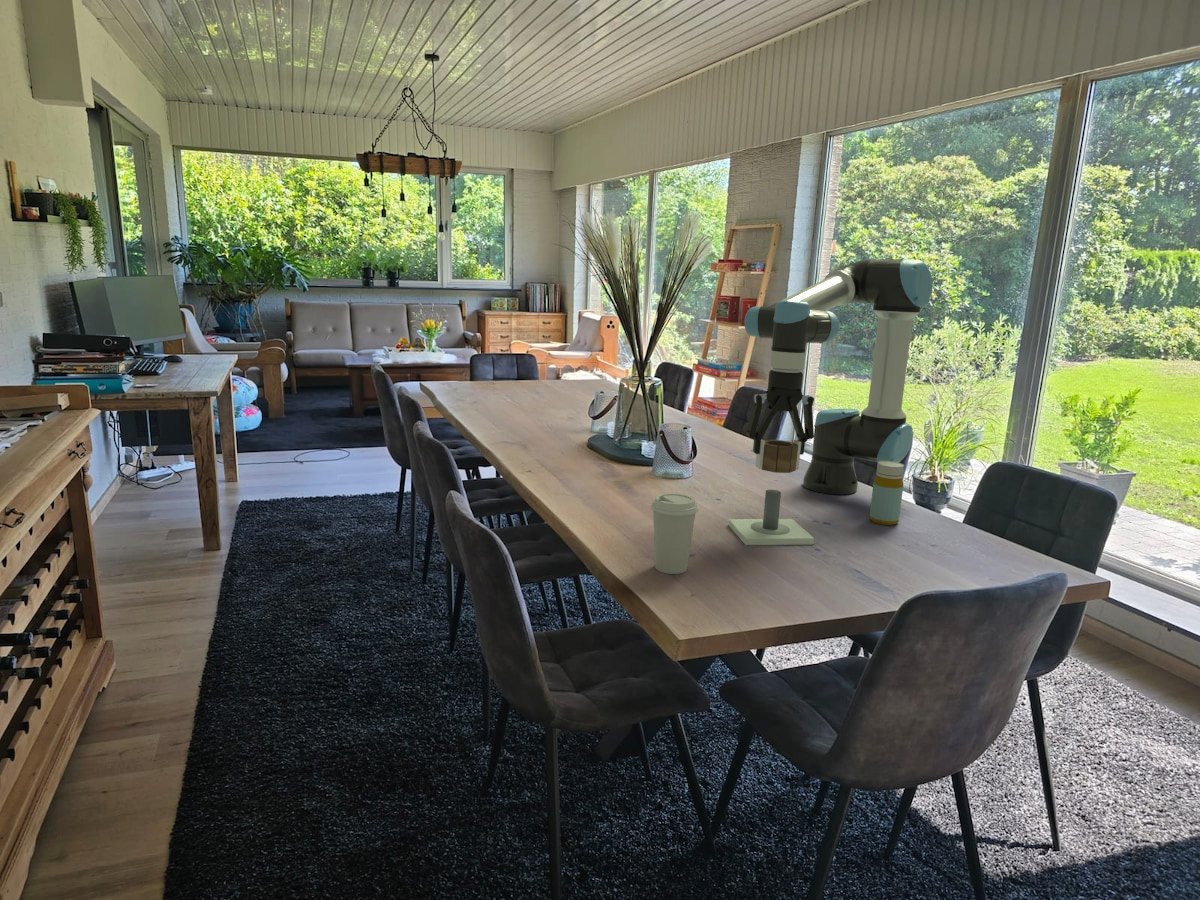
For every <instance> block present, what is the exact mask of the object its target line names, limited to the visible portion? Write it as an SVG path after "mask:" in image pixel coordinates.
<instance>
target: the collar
mask: <svg viewBox="0 0 1200 900" xmlns="http://www.w3.org/2000/svg"><path fill="white" fill-rule="evenodd" d="M763 440H764V439H763ZM764 441H765V444H764V455H763V465H762V469H761V470H762V471H765V472H771V473H779V474H790V473H793V472H796V470H797V469H796V462H797V452H798V445H797V444H795V443H794V441H789V440H788V441H787V440H782V439H765V440H764Z"/></svg>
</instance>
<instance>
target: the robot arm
mask: <svg viewBox="0 0 1200 900" xmlns="http://www.w3.org/2000/svg"><path fill="white" fill-rule="evenodd" d="M932 294H933V278H932V274H931V271H930V269H929V267H928V265H927V264H926V263H925V262H924V261H921V260H919V259H918V260H917V259H909V258H903V259H900V258H897V259H893V258H890V259H889V258H887V259H883V258H881V259H877V258H869V259H862V260H858V261H855V262H852V263H849V264H846V265H844V266H842V267H838V268H837V269H835V270H833V271H830V272H829V273H828V274H827V275H826V276H825V278H824V279H823V280H821V281H819V282H817V283H815V284H813V285H811V286H809V287H806V288H804V289H802V290H800V291H798V292H795V293H794V294H792V295H790V296H788V297H785V298H783V299H781V300H779V301H777V302H775V303H773V304H771V305H768V306H763V305H759V306H757V305H756V306H752V307H750V308H749V309H748V310H747V312H746V313H745V316H744V322H743V324H744V329H745V331H746V333H747V334H748V336H751V337H754V338H759V339H771V344H772V345H771V351H770V358H769V359H770V360H769V367H770V368H771V369H770V370H769V371H768V381H767V382H768V383H767V390H766V391H765V393H762V394H759V393H754V394H753V396H752V397H753V405H752V411H751V414H750V417H749V421H748V424H747V430H746V435H747V436H748V437H750V438H751V439H753V445H752V447H753V448H752V453H754V454H755V455H756V457H755V464H754V465H755V467H756V468H757V469H759V470H762V465H763V455H764V444H765V441H764V439H763V438H764V436H765V434H766V432H767V430H768V428H769V426H770V424H771V422H772V420H773V419H774V416H776V415H777V412H784V411H785V412H788V414H789V416H790V419H791V422H792V426H793V428H794V431H795V434H796V437H797V439H793V442H794V443H795V444H797V445H798V452H797V462H796V470H799V467H800V458H801V455H802V456H803V455H804V453H805V447H806V442H807V441H809V440H812V439H813V444H812V454H811V461H810V463H809V465H808V467H807V469H806V472H805V474H804V475H803V480H802V482H803V483H802V485H803V487H804V488H806V489H807V490H810V491H812V492H813V491H814V492H817V493H821V494H827V495H828V494H830V495H848V494H849V495H850V494H853V493H854V494H855V493H856V492H857V491H858V486H859V485H858V478H857V475H856V470H855V466H854V461H855V458H857V459H861V460H866V461H868V462H869V461H870V462H875V463H877V464H878V462H880V461H892V462H898V463H901V461H902V460H903V459H904V458H905V457H906V456H907V454H908V452H909V450H910V449H911V445H912V444H913V443H912V442H913V439H914V429H913V426H912V425H910V424H909V423H907V414H906V413H905V412H904V410H903V409H902V406H903V399H904V391H905V385H906V384H905V383H906V375H907V367H908V361H909V360H908V358H909V352H910V351H909V350H910V343H911V335H912V328H913V321H914V319H915V318H916V317H917V316H918V315H919V314H920V312H921V308H922V307H925V306H927V304H929V302H930V298H931V297H932ZM852 303H861V304H873V309H872V311H873V313H874V314H875V315H876V316H877V326H876V327H877V328H876V334H875V341H874V342H875V344H874V352H873V360H872V367H871V369H872V370H871V376H870V378H871V379H870V384H869V385H870V386H869V393H868V403H867V406H866V407H865V408H864V409H863V410H861V412H860V410H859V409H857V408H856V409H855V408H830V409H822V410H820V411H818V412H817V414H816V416H815V422H814V417H813V405H814V401H815V398H814V397H813V396H811V395H809V394H806V395H805V394H803V391H802V387H803V380H804V379H803V378H804V373H803V372H802V371H803V370H804V369H805V360H806V359H805V358H806V347H807V344H823V343H829V342H831V341H833V339H835V338H836V337H837V335H838V333H839V329H840V322H839V319H838V316H837V315H836V314H835V313H833V312H832V311H829V310H830V309H831V308H832V309H833V308H834V307H837V306H838V307H843V306H847V305H848V304H852ZM765 400H767V402H768V405H767V408H766V411H765V413H764V415H763V417H762V418H761V421H760V423H759V420H760V415H761V413H762V408H763V404H764V403H765ZM800 402H801V403H802V405H803V406H802V409H803V424H804V425H803V424H802V422H801V418H800V415H799V410H798V406H797V405H798V404H799V403H800ZM860 413H861V414H860ZM803 426H804V427H803Z"/></svg>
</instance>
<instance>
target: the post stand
mask: <svg viewBox="0 0 1200 900" xmlns="http://www.w3.org/2000/svg"><path fill="white" fill-rule="evenodd" d="M781 496H782V492H781V491H780V490H779V489H778V490H777V489H767V490H765V495H764V506H763V507H764V509H763V518H755V519H754V518H751V519H750V518H747V519H744V518H740V519H738V518H736V519H735V518H734V519H733V518H731V519H730V518H729V519H728V527H729V528H730V529H731V530H732V531H733V532H734V533H735V535H736V536H737V538H739V539H740V540H741V542H743V544H744V545H745V546H787V545H788V546H789V545H791V546H793V545H794V546H797V545H799V546H801V545H814V543H815V537H813V536H812V535H811V534H810V533H809V532H808V531H807V530H805V529H804V527H802V526H801V525H800V524H799V523H797V521H795V520H794V519H793V518H780V510H781V509H780V508H781V498H782V497H781Z"/></svg>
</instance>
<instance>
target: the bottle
mask: <svg viewBox="0 0 1200 900" xmlns="http://www.w3.org/2000/svg"><path fill="white" fill-rule="evenodd" d="M904 467H905V464H904V463H901V462H899V463H898V462H892V461H880V462H878V463H877V465H876V475H875V477H874V479H873V485H872V494H871V502H870V510H869V519H870V520H871V522H872V523H875V524H878V525H882V526H895V525H896V524H898V523H899V522H900V517H901V516H900V513H901V507H902V501H903V500H902V498H903V492H904V480H903V475H904V470H905V468H904Z"/></svg>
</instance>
